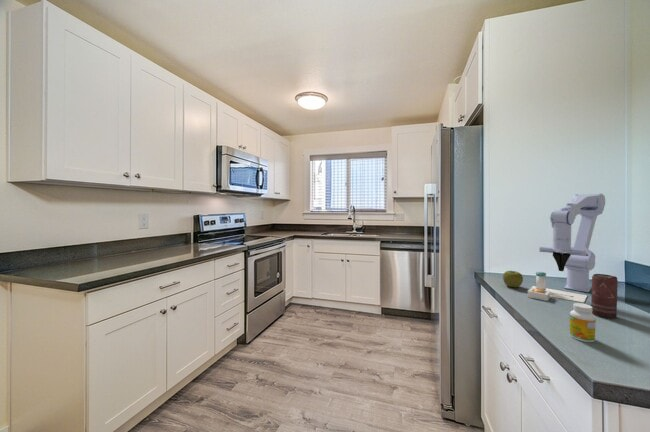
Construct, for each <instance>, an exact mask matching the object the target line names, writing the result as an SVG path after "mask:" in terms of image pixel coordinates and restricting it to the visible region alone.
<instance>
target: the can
mask: <svg viewBox="0 0 650 432" xmlns="http://www.w3.org/2000/svg"><path fill="white" fill-rule="evenodd" d="M618 283H619V282H618V277H617V276H616V275H615V276H614V275H611V274H610V275H609V274H604V273H603V274H602V273H593V275H592V276H591V301H590V302H591V303H590V304H591V305H590V306H592V314H593V315H594V316H595V317H599V318H603V319H608V318H609V319H610V320H611V319H612V318H614V319H616V318H617V317H618V315H617V314H618V313H617V312H618V287H619V286H618ZM609 319H608V320H609ZM612 320H613V319H612Z"/></svg>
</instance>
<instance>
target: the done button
mask: <svg viewBox="0 0 650 432" xmlns="http://www.w3.org/2000/svg"><path fill="white" fill-rule="evenodd" d="M534 292H538V293H543V294H545V290H542V289H534Z"/></svg>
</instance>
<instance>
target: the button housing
mask: <svg viewBox="0 0 650 432" xmlns="http://www.w3.org/2000/svg"><path fill="white" fill-rule="evenodd" d="M530 288H531V287H530ZM530 288H529V289H530ZM529 289H528V290H527V291H528V292H527V298H530V299H536V300H540V301H545V302H548V301H549V300H550V299H551V298H552V297H551V291H547V290H545V294H543V293H538V292H534V289H536V288H531V289H530V290H529Z"/></svg>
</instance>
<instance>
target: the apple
mask: <svg viewBox="0 0 650 432" xmlns="http://www.w3.org/2000/svg"><path fill="white" fill-rule="evenodd" d="M502 279H503V282H504V284H505V286H507V287H509V288H519V287H520V286H521V285H523V281H524V276H523V274H522V273H520V272H518V271H516V270H506V271H505V272H504V273H503V275H502Z"/></svg>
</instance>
